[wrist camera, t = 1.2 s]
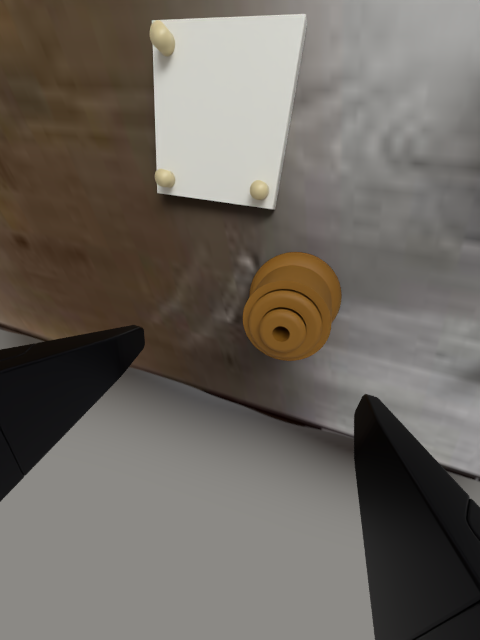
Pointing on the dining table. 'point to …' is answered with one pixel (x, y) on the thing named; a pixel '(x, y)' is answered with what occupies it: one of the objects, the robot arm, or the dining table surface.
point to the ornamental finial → (292, 306)
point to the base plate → (225, 105)
